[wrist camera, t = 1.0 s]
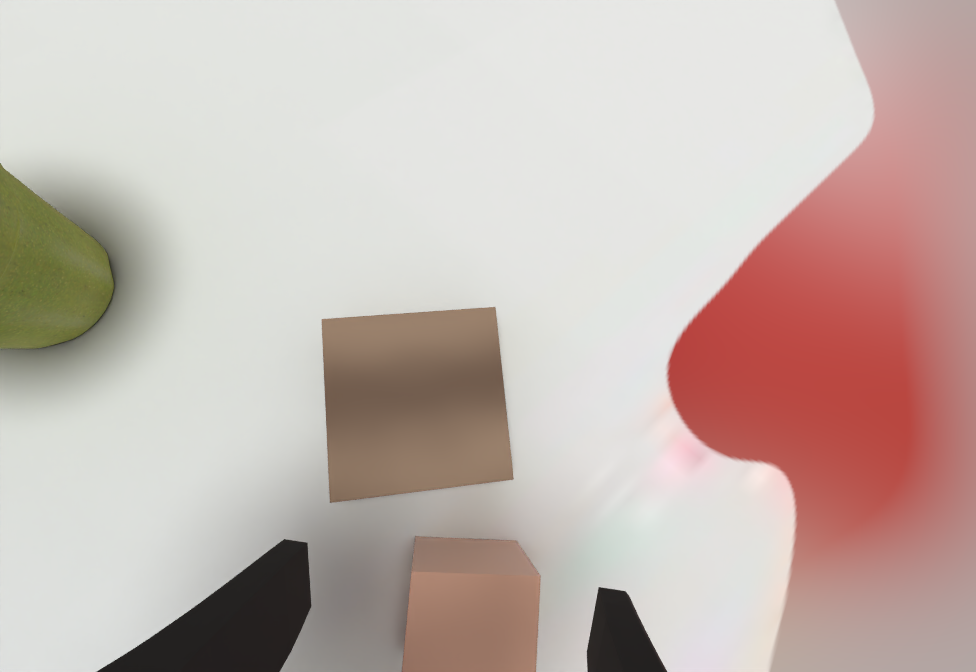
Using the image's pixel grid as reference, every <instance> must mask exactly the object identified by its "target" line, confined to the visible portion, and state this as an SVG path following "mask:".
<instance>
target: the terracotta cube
mask: <svg viewBox="0 0 976 672" xmlns="http://www.w3.org/2000/svg"><path fill="white" fill-rule="evenodd" d="M539 596H540V575H539V573H538V572H537V570H536V569H535V567H534V566H533V564H532V563H531V561H530V560H529V558H528V557H527V555H526V554H525V552H524V551H523V550H522V548H521V547H520V545H519V544H518V542H517V541H513V540H489V539H465V538H441V537H417V536H415V544H414V553H413V562H412V571H411V582H410V592H409V603H408V613H407V624H406V634H405V645H404V655H403V666H402V672H536V657H537V637H538V616H539Z"/></svg>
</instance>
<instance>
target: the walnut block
mask: <svg viewBox="0 0 976 672" xmlns="http://www.w3.org/2000/svg"><path fill="white" fill-rule="evenodd" d="M322 338H323V360H324V382H325V404H326V426H327V448H328V470H329V493H330V503H332V502H340V501H348V500H356V499H364V498H371V497H379V496H387V495H395V494H403V493H411V492H419V491H426V490H434V489H442V488H450V487H458V486H466V485H474V484H481V483H489V482H497V481H505V480H513V479H514V478H513V469H512V460H511V450H510V441H509V431H508V422H507V412H506V403H505V394H504V384H503V375H502V365H501V356H500V347H499V337H498V328H497V318H496V309H495V307H489V308H475V309H461V310H446V311H432V312H418V313H404V314H390V315H376V316H361V317H347V318H333V319H322Z"/></svg>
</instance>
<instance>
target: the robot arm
mask: <svg viewBox="0 0 976 672" xmlns="http://www.w3.org/2000/svg"><path fill="white" fill-rule="evenodd" d="M310 608H311V594H310V578H309V562H308V546H307V543H305V542H299V541H292V540H286V539H284V540H283V541H281V542H280V543H279V544H277V545H276V546H275V547H273V548H272V549H271V550H269V551H268V552H267V553H265V554H264V555H263V556H261V557H260V558H259V559H258V560H256V561H255V562H254V563H252V564H251V565H250V566H248V567H247V568H246V569H245V570H243V571H242V572H241V573H239V574H238V575H237V576H235V577H234V578H233V579H232V580H230V581H229V582H228V583H226V584H225V585H224V586H222V587H221V588H220V589H218V590H217V591H215V592H214V593H213V594H211V595H210V596H209V597H207V598H206V599H205V600H203V601H202V602H201V603H199V604H198V605H197V606H195V607H194V608H193V609H191V610H190V611H188V612H187V613H185V614H184V615H183V616H181V617H180V618H178V619H177V620H175V621H174V622H172V623H171V624H170V625H168V626H167V627H165V628H164V629H162V630H161V631H159V632H158V633H157V634H155V635H154V636H152V637H151V638H149V639H148V640H146V641H145V642H143V643H142V644H140V645H139V646H137V647H136V648H134V649H133V650H131V651H129V652H128V653H126V654H125V655H123V656H122V657H120V658H118V659H117V660H115V661H113V662H112V663H110V664H108V665H107V666H105V667H104V668H102V669H100V670H99V671H97V672H280V670H281V668H282V666H283V665H284V663H285V661H286V659H287V658H288V656H289V654H290V652H291V650H292V648H293V646H294V644H295V642H296V639H297V637H298V635H299V633H300V631H301V629H302V626H303V624H304V622H305V619H306V617H307V615H308V612H309V610H310ZM587 666H588V672H667V670H666V669H665V667H664V665H663V663H662V661H661V659H660V658H659V656H658V654H657V652H656V650H655V648H654V646H653V644H652V642H651V640H650V638H649V637H648V635H647V633H646V631H645V629H644V627H643V625H642V623H641V620H640V618H639V616H638V614H637V612H636V610H635V608H634V606H633V604H632V601H631V599H630V597H629V595H628V594H627V593H626V592H625V591H620V590H614V589H607V588H600V587H599V589H598V594H597V600H596V605H595V611H594V616H593V622H592V627H591V633H590V638H589V643H588V649H587Z"/></svg>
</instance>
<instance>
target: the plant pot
mask: <svg viewBox="0 0 976 672" xmlns="http://www.w3.org/2000/svg"><path fill="white" fill-rule="evenodd" d="M113 289H114V281H113V278H112V274H111V270H110V265H109V260H108V255H107V253H106V251H105V250H104V248H103V247H102V246H101V245H100V244H99V243H98V242H97V241H96V240H95V239H94V238H92V237H91V236H90V235H89V234H87V233H86V232H85V231H83V230H82V229H81V228H79V227H78V226H77V225H76V224H74V223H73V222H72V221H70V220H69V219H68V218H66V217H65V216H63V215H62V214H61V213H60V212H58V211H57V210H56V209H54V208H53V207H52V206H50V205H49V204H48V203H47V202H45V201H44V200H43V199H41V198H40V197H39V196H38V195H36V194H35V193H34V192H33V191H31V190H30V189H29V188H28V187H26V186H25V185H24V184H23V183H21V182H20V181H19V180H18V179H16V178H15V177H14V176H13V175H11V174H10V173H9V172H8V171H6V170H5V169H4V168H3V166H2V165H1V163H0V348H4V349H35V348H42V347H47V346H51V345H55V344H58V343H62V342H65V341H68V340H72V339H74V338H76V337H78V336H79V335H81V334H83V333H84V332H85V331H87V330H88V329H89V328H90V327H92V326H93V325H94V324H95V323H96V322H97V321H98V320H99V318H100V317H101V316H102V314H103V313H104V312H105V310H106V308H107V306H108V304H109V302H110V300H111V297H112V293H113Z"/></svg>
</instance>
